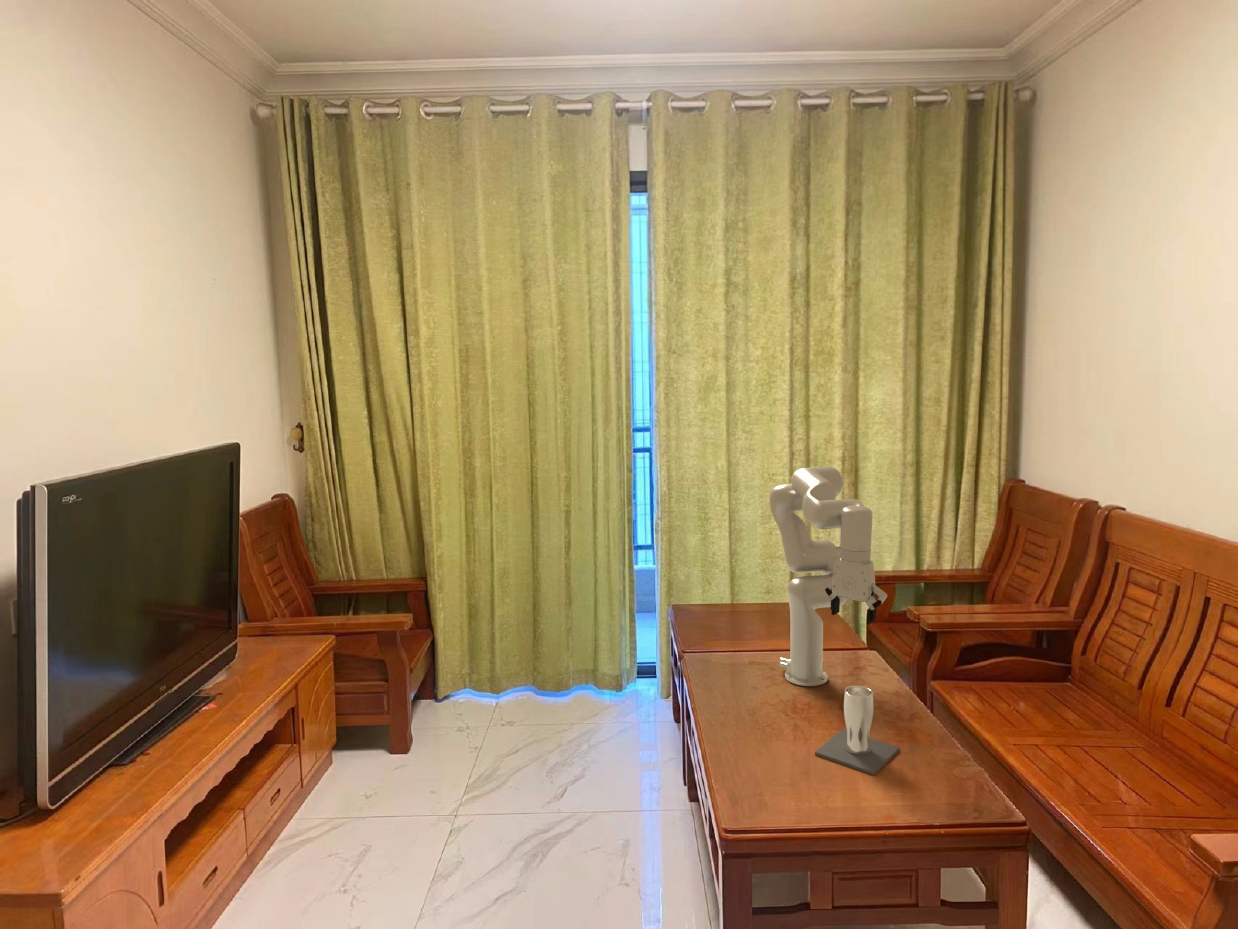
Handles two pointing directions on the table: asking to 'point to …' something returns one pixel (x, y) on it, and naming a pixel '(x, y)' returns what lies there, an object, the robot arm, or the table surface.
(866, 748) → the beer glass
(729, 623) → the table surface
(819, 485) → the robot arm
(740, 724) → the table surface
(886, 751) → the charcoal mat
